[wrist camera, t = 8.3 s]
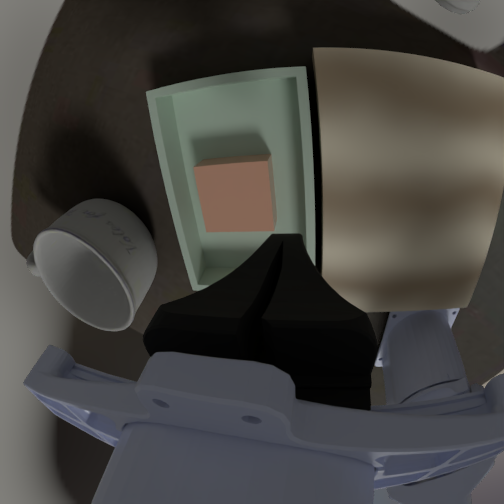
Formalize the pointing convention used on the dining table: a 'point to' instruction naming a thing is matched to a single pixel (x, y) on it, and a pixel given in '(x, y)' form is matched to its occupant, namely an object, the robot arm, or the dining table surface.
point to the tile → (237, 193)
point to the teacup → (96, 262)
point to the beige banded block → (406, 176)
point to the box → (235, 144)
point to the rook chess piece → (459, 5)
